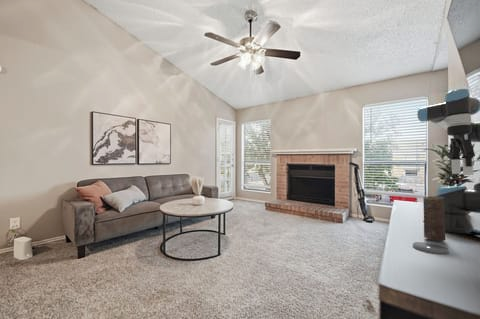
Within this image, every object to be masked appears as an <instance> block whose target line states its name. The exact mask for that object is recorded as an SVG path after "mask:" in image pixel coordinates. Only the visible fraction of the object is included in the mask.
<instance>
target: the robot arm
mask: <svg viewBox="0 0 480 319" xmlns="http://www.w3.org/2000/svg"><path fill="white" fill-rule="evenodd" d="M444 98H445V99H444V102H442V103H437V104H433V105H432V104H431V105H426V106H424V107H420V108H419V109H418V110H417V113H416V114H417V115H416V116H417V119H418V120H419V122H421V123H422V122H423V123H425V122H426V123H427V122H431V123H433V124H434V125H437V126H438V127H440V128H442V129H443V130H445V131H447V133H446V134H447V136H451V138H449V139H450V146H449V147H450V148H449V157H448V158H449V159H450V160H451V161H450V162H451V163H450V164H451V174H452V175H454V174H455V175H456V174H457V175H458V174H459V175H460V174H463V176H471V175H472V176H474V162H473V159H474V158H475V157H476V153H475V151H474V150H475V149H474V146H473V144H472V143H480V120H479V121H472V115H475V114H478V113H479V112H480V100H479V99H478V98H475V97H471V96H470V90H469V89H468V88H458V89H453V90H450V91H448V92H446V93H445V96H444ZM460 153H461V154H460ZM460 155H462V156H461V157H460ZM461 160H462V170H463V171H462V172H463V173H462V172H461ZM478 181H479V182H477V183H475V184H474V185H473V188H472V189H471V188H467V186H466V185H458V186H457V185H455V186H442V187H438V188H437V189H436V196H439V197H443V198H444V214H445V232H449V233H457V234H471V233H470V232H471V231H472V230H474V231H475V228H474V225H473V224H472V222H471V220H470V219H471V218H469V213H473V214H474V213H475V214H480V179H479V180H478Z"/></svg>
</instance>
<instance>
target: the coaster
mask: <svg viewBox="0 0 480 319" xmlns="http://www.w3.org/2000/svg"><path fill="white" fill-rule="evenodd" d="M412 247H413V248H414V249H416V250H417V251H421V252H424V253H428V254H437V255H447V254H449V248H447V247H446V246H443V245H440V244H436V243H432V242H426V241H415V242H413V243H412Z"/></svg>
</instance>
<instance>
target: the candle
mask: <svg viewBox="0 0 480 319" xmlns="http://www.w3.org/2000/svg"><path fill="white" fill-rule="evenodd" d="M422 201H423V204H422V205H423V237H424V238H425V239H427V240H428V241H432V242H445V241H446V231H445V214H444V198H443V197H439V196H437V195H433V196H431V195H430V196H423V199H422Z"/></svg>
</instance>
